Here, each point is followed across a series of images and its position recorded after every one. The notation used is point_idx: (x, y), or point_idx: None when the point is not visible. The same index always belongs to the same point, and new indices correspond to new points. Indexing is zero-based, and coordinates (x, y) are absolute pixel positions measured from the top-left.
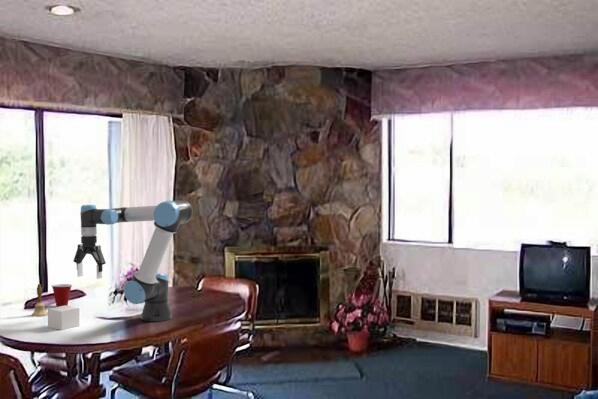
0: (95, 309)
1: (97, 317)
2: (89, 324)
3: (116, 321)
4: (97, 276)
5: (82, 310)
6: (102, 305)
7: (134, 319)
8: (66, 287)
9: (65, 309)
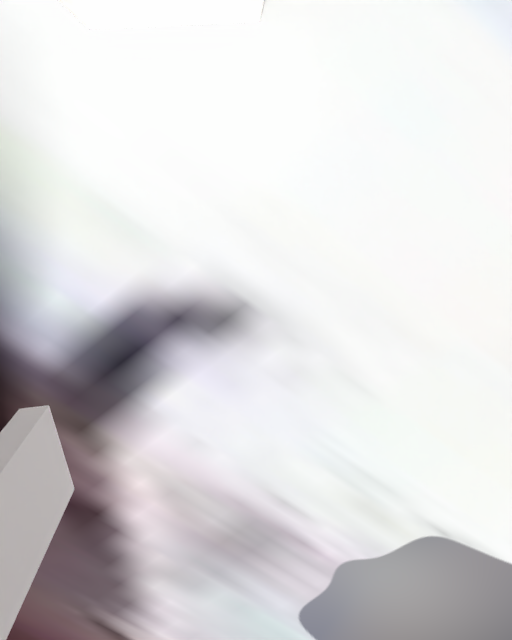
0: (430, 428)
1: (234, 301)
2: (80, 121)
3: (32, 304)
4: (7, 433)
5: (480, 366)
6: (475, 508)
7: (5, 406)
8: None
9: None
